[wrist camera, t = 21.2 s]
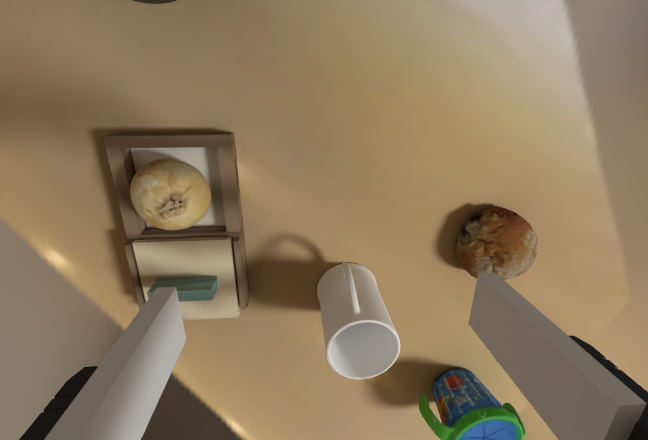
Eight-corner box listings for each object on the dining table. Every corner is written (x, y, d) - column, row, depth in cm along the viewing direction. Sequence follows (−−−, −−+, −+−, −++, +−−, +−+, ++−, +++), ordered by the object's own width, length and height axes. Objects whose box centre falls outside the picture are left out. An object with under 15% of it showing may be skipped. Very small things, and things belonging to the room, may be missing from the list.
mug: (312, 244, 42) (318, 296, 31) (375, 237, 43) (403, 286, 32) (319, 317, 46) (326, 386, 35) (376, 310, 47) (402, 376, 36)
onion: (172, 230, 39) (147, 256, 33) (130, 174, 37) (93, 190, 30) (228, 201, 39) (214, 222, 32) (189, 141, 36) (165, 151, 29)
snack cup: (508, 369, 53) (553, 427, 44) (477, 413, 57) (513, 476, 47) (427, 349, 50) (457, 407, 41) (399, 397, 54) (421, 461, 44)
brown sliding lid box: (115, 133, 35) (97, 137, 32) (234, 132, 36) (227, 136, 33) (152, 300, 43) (141, 317, 40) (249, 296, 44) (246, 311, 41)
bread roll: (448, 260, 49) (478, 304, 44) (444, 219, 42) (479, 266, 36) (509, 234, 48) (547, 275, 43) (515, 188, 41) (563, 231, 36)
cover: (135, 239, 37) (118, 254, 34) (231, 236, 38) (224, 250, 34) (153, 317, 41) (139, 338, 37) (239, 313, 42) (234, 332, 38)
